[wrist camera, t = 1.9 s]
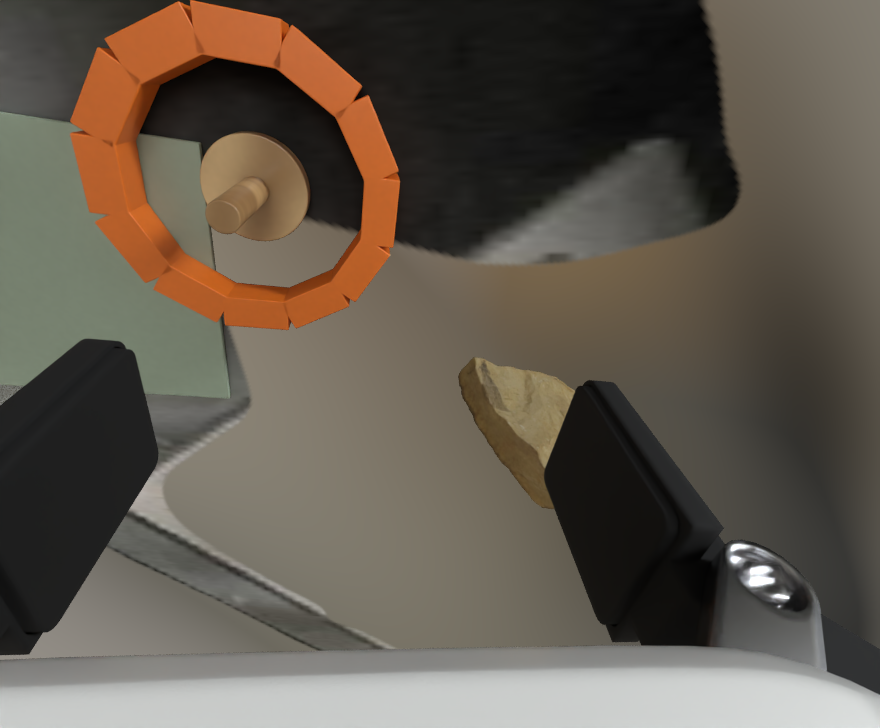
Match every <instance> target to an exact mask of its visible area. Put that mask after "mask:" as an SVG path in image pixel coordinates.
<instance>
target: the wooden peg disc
mask: <svg viewBox="0 0 880 728" xmlns="http://www.w3.org/2000/svg"><path fill="white" fill-rule="evenodd" d="M200 184H201V189H202V193H203V196H204V198H205V201H206V203H207V207H206V209H205V216H206V220H207V222H208V223H209V225H210V226H211V227H212V228H213V229H215V230H216V231H218V232H220V233H223V234H232V233H234V232H235V233H236V234H238V235H240V236H243V237H245V238H248V239H252V240H257V241H272V240H277V239H280V238H283V237H285V236H287V235H289V234H290V233H291V232H293V231H294V230H295V229H296V228H297V227H298V226H299V225H300V223H301V222H302V220H303V219H304V217H305V215H306V213H307V210H308V208H309V203H310V186H309V181H308V178H307V174H306V172H305V170H304V168H303V166H302V164H301V163H300V161H299V160H298V158H297V157H296V156H295V154H294V153H293V152H292V151H291V150H290V149H289V148H288V147H287V146H285V145H284V144H283V143H281V142H280V141H278V140H277V139H275V138H273V137H271V136H269V135H266V134H263V133H259V132H253V131H241V132H236V133H232V134H230V135H227V136H224V137H222V138H220V139H219V140H217V141H216V142H215V143H214V144H212V145H211V147H210V148H209V149H208V150H207V152H206V154H205V155H204V158H203V160H202V164H201V168H200Z"/></svg>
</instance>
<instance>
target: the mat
mask: <svg viewBox="0 0 880 728" xmlns="http://www.w3.org/2000/svg"><path fill="white" fill-rule="evenodd" d="M78 131H83V130H82V129H80V128H78V127H77V126H75V125H74V124H72V123H71V122H65V121H59V120H52V119H46V118H39V117H33V116H26V115H20V114H13V113H7V112H0V385H13V386H25V385H26V384H28V383H29V382H30V381H31V380H32V379H34V378H35V377H36V376H37V375H39V374H40V373H41V372H42V371H44V370H45V369H46V368H47V367H48V366H50V365H51V364H52V363H53V362H55V361H56V360H57V359H58V358H60V357H61V356H62V355H63V354H64V353H66V352H67V351H68V350H69V349H71V348H72V347H73V346H74V345H76V344H77V343H78V342H79V341H81V340H83V339H101V340H113V341H120V342H122V343H123V344H124V345H125V347H126V349H130V350H132V351H133V352H134V353H135V356H136V360H137V364H138V368H139V372H140V376H141V381H142V385H143V389H144V393H146V394H162V395H179V396H195V397H212V398H228V399H229V398H230V396H231V395H230V386H229V378H228V369H227V361H226V352H225V344H224V335H223V326H222V318H221V317H220V319H219V321H218V322H214V321H212V320H211V319H209V318H207V317H205V316H203V315H201V314H199V313H197V312H195V311H193V310H191V309H189V308H188V307H186V306H184V305H182V304H180V303H178V302H176V301H174V300H172V299H170V298H168V297H167V296H165V295H163V294H161V293H159V292H157V291H155V290H154V289H153V288H154V286H155V284H156V282H157V280H158V279H159V278H157V279H154V280H152V281H150V282H148V283H145V282H144V281H143V280H142V279H141V277H140V276H139V275H138V274H137V273H136V271H135V270H134V269H133V268H132V267H131V265H130V264H129V263H128V262H127V261H126V259H125V258H124V257H123V256H122V255H121V254H120V252H119V251H118V250H117V249H116V248H115V246H114V245H113V244H112V243H111V242H110V240H109V239H108V238H107V237H106V236H105V234H104V233H103V232H102V231H101V230H100V228H99V227H98V226H97V225H96V224H95V221H97V220H99V219H101V218H103V217H105V216H107V215H105V214H96V213H90V212H89V209H88V205H87V201H86V197H85V193H84V189H83V185H82V181H81V177H80V173H79V169H78V165H77V161H76V157H75V153H74V149H73V145H72V141H71V137H70V133H72V132H78ZM136 143H137V149H138V154H139V160H140V165H141V171H142V176H143V182H144V187H145V193H146V198H147V203H148V204H149V205H150V207H151V208H152V209H153V211H154V212H155V214H156V215H157V216H158V218H159V219H160V220H161V222H162V223H163V224H164V226H165V227H166V228H167V230H168V231H169V232H170V234H171V235H172V236H173V238H174V239H175V240H176V242H177V243H178V244H179V246H180V247H181V248H182V250H183V251H184V252H185V254H187V255H189V256H190V257H192V258H194V259H196V260H197V261H199V262H201V263H203V264H204V265H206V266H208V267H210V268H211V269H213V270H215V271H216V266H215V258H214V250H213V241H212V233H211V226H210V225H209V223H208V222H207V220H206V216H205V209H206V207H207V203H206V201H205V198H204V196H203V193H202V189H201V184H200V168H201V164H202V160H203V155H202V147H201V142H195V141H189V140H182V139H176V138H169V137H163V136H156V135H150V134H143V133H139V135H138V137H137V139H136Z"/></svg>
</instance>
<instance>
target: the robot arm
mask: <svg viewBox="0 0 880 728" xmlns="http://www.w3.org/2000/svg"><path fill="white" fill-rule="evenodd" d="M157 461H158V447H157V443H156V439H155V435H154V431H153V426H152V422H151V418H150V414H149V410H148V406H147V401H146V397H145V393H144V389H143V385H142V381H141V376H140V372H139V368H138V364H137V360H136V356H135V353H134V352H133V351H132V350H130V349H126V347H125V345H124V344H123V343H122V342H120V341H113V340H101V339H83V340H81V341H79V342H78V343H77V344H76V345H74V346H73V347H72V348H71V349H69V350H68V351H67V352H66V353H64V354H63V355H62V356H61V357H60V358H58V359H57V360H56V361H55V362H53V363H52V364H51V365H50V366H48V367H47V368H46V369H45V370H44V371H42V372H41V373H40V374H39V375H37V376H36V377H35V378H34V379H32V380H31V381H30V382H29V383H28V384H26V385H25V386H24V387H23V388H21V389H20V390H19V391H18V392H16V393H15V394H14V395H13V396H12V397H10V398H9V399H8V400H7V401H5V402H4V403H3V404H2V405H0V655H24V654H29V653H30V652H31V650H32V649H33V647H34V646H35V644H36V642H37V641H38V639H39V638H40V636H41V635H42V633H43V632H49V631H50V630H52V629H53V628H54V627H55V626H56V625H57V624H58V622H59V621H60V619H61V618H62V616H63V615H64V613H65V611H66V610H67V608H68V607H69V605H70V603H71V602H72V600H73V599H74V597H75V595H76V594H77V592H78V591H79V589H80V587H81V586H82V584H83V583H84V581H85V579H86V578H87V576H88V575H89V573H90V571H91V570H92V568H93V566H94V565H95V563H96V562H97V560H98V559H99V557H100V555H101V554H102V552H103V550H104V549H105V547H106V546H107V544H108V543H109V541H110V539H111V538H112V536H113V534H114V533H115V531H116V530H117V528H118V526H119V525H120V523H121V522H122V520H123V518H124V517H125V515H126V514H127V512H128V510H129V509H130V507H131V506H132V504H133V502H134V501H135V499H136V498H137V496H138V494H139V493H140V491H141V490H142V488H143V486H144V485H145V483H146V482H147V480H148V478H149V477H150V475H151V473H152V472H153V470H154V469H155V467H156V464H157ZM544 482H545V485H546V488H547V491H548V493H549V496H550V498H551V501H552V503H553V506H554V509H555V511H556V514H557V516H558V519H559V522H560V524H561V527H562V529H563V532H564V535H565V537H566V540H567V542H568V545H569V547H570V550H571V553H572V555H573V558H574V560H575V563H576V565H577V568H578V571H579V573H580V576H581V579H582V581H583V584H584V586H585V589H586V592H587V594H588V597H589V599H590V602H591V604H592V607H593V610H594V612H595V614H596V617H597V619H598V620H599V621H600V623H601V624H604V625H606V627H607V630H608V632H609V635H610V637H611V640H612V642H638V641H640V643H641V645H642V646H607V645H606V646H605V645H604V646H542V647H480V648H432V649H431V648H430V649H429V648H428V649H380V650H334V651H291V652H246V653H211V654H174V655H173V654H172V655H135V656H98V657H65V658H64V657H60V658H38V659H16V660H0V728H880V649H878V648H877V647H875V646H873V645H871V644H870V643H868V642H867V641H865V640H863V639H862V638H860V637H858V636H857V635H855V634H854V633H852V632H850V631H849V630H847V629H845V628H843V627H842V626H840V625H839V624H837V623H835V622H833V621H832V620H830V619H829V618H827V617H825V616H823V615H822V614H821V612H820V605H819V601H818V599H817V595H816V593H815V591H814V590H813V588H812V587H811V585H810V584H809V582H808V580H807V579H806V578H805V577H804V576H803V575H802V574H801V573H800V572H799V571H798V570H797V568H795V567H794V566H793V565H792V564H790V563H789V562H788V561H787V560H785V559H784V558H783V557H782V556H780V555H778V554H777V553H775V552H773V551H772V550H770V549H768V548H766V547H764V546H761V545H759V544H757V543H754V542H750V541H745V540H734V541H733V540H732V541H730V542H728V543H727V544H724V542H723V541H722V540H721V538H720V537H719V534H720V533H721V531H722V530H723V529H724V528H723V526H722V525H721V524H720V522H719V521H718V520H717V518H716V517H715V516H714V514H713V513H712V512H711V510H710V509H709V508H708V506H707V505H706V504H705V502H704V501H703V500H702V498H701V497H700V496H699V494H698V493H697V492H696V490H695V489H694V488H693V487H692V485H691V484H690V482H689V481H688V480H687V479H686V477H685V476H684V475H683V473H682V472H681V471H680V469H679V468H678V467H677V465H676V464H675V463H674V461H673V460H672V459H671V457H670V456H669V455H668V453H667V452H666V451H665V449H664V448H663V447H662V445H661V444H660V443H659V442H658V440H657V439H656V437H655V436H654V435H653V433H652V432H651V431H650V429H649V428H648V427H647V425H646V424H645V423H644V421H643V420H642V419H641V418H640V416H639V415H638V413H637V412H636V411H635V409H634V408H633V407H632V406H631V404H630V403H629V402H628V400H627V399H626V397H625V396H624V395H623V394H622V392H621V391H620V390H619V388H618V387H617V386H616V385H615V384H614V383H612V382H603V381H592V380H589V381H586V382H585V383H584V385H583V386H579V387H578V388H577V389H576V391H575V393H574V395H573V398H572V401H571V403H570V406H569V408H568V411H567V413H566V416H565V419H564V421H563V424H562V426H561V429H560V431H559V434H558V436H557V439H556V442H555V444H554V447H553V449H552V452H551V454H550V457H549V460H548V462H547V465H546V467H545V471H544Z"/></svg>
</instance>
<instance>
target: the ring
mask: <svg viewBox="0 0 880 728" xmlns="http://www.w3.org/2000/svg"><path fill="white" fill-rule="evenodd" d="M190 5H191V7H190V6H188V5H185V4H183V3H181V2H176V3H174V4H172V5H170V6H168V7H166V8H164V9H162V10H160V11H158V12H156V13H154V14H152V15H150V16H148V17H146V18H144V19H142V20H140V21H138V22H136V23H134V24H132V25H130V26H128V27H126V28H124V29H122V30H120V31H118V32H116V33H114V34H112V35H110V36H108V37H107V38H105V41H106V42H107V44H108V45H109V47H110V48H111V49H107V48H100V47H98V48H97V50H96V53H95V56H94V58H93V61H92V64H91V66H90V69H89V72H88V74H87V77H86V80H85V83H84V85H83V88H82V91H81V93H80V96H79V99H78V101H77V104H76V107H75V109H74V112H73V115H72V118H71V120H70V122H71V123H72V124H74V125H75V126H77V127H78V128H80V129H82V130H83V131H78V132H72V133H70V137H71V141H72V145H73V149H74V153H75V157H76V161H77V165H78V169H79V173H80V177H81V181H82V185H83V189H84V193H85V197H86V201H87V205H88V209H89V212H90V213H96V214H105V215H107V216H105V217H103V218H101V219H99V220H97V221H95V224H96V225H97V226H98V227H99V228H100V230H101V231H102V232H103V233H104V234H105V236H106V237H107V238H108V239H109V240H110V242H111V243H112V244H113V245H114V246H115V248H116V249H117V250H118V251H119V252H120V254H121V255H122V256H123V257H124V258H125V259H126V261H127V262H128V263H129V264H130V265H131V267H132V268H133V269H134V270H135V271H136V273H137V274H138V275H139V276H140V277H141V279H142V280H143V281H144V282H145V283H148V282H150V281H152V280H154V279H157V278H159V279H158V280H157V282H156V284H155V286H154V288H153V289H154V290H155V291H157V292H159V293H161V294H163V295H165V296H167V297H168V298H170V299H172V300H174V301H176V302H178V303H180V304H182V305H184V306H186V307H188V308H189V309H191V310H193V311H195V312H197V313H199V314H201V315H203V316H205V317H207V318H209V319H211V320H212V321H214V322H218V321H219V319H220V317H221V316H222V314H223V313H224V321H225V325H228V326H243V327H255V328H270V329H282V330H289V327H290V323H291V322H292V323H293V324H294V326H295V328H299V327H301V326H304V325H306V324H308V323H311V322H313V321H316V320H318V319H320V318H323V317H325V316H327V315H330V314H332V313H335V312H337V311H339V310H342V309H344V308H347V307H348V306H349V302H350V299H351V300H353V301H354V302H356V300H357V299H358V298H359V296H360V295H361V294H362V292H363V291H364V290H365V288H366V287H367V286H368V284H369V283H370V282H371V280H372V279H373V278H374V276H375V275H376V274H377V272H378V271H379V269H380V268H381V267H382V266H383V264H384V263H385V261H386V260H387V259H388V257H389V256H390V251H389V247H390V248H393V245H394V235H395V225H396V216H397V206H398V197H399V187H400V180H399V177H398V174H396V173H397V172H398V168H397V164H396V162H395V159H394V157H393V154H392V152H391V149H390V147H389V145H388V142H387V140H386V137H385V135H384V132H383V130H382V127H381V125H380V122H379V120H378V117H377V115H376V112H375V110H374V107H373V105H372V102H371V100H370V97H369V96H368V95H366V96H364V97H362V98H360V99H358V100H355V98H356V96H357V95H358V93H359V91H360V90H361V88H362V85H361V84H359V83H358V82H357V81H356V80H355V79H354V78H353V77H352V76H350V75H349V74H348V73H347V72H346V71H345V70H344V69H343V68H341V67H340V66H339V65H338V64H337V63H336V62H335V61H333V60H332V59H331V58H330V57H329V56H328V55H327V54H326V53H324V52H323V51H322V50H321V49H320V48H319V47H318V46H317V45H315V44H314V43H313V42H312V41H311V40H310V39H309V38H308V37H306V36H305V35H304V34H303V33H302V32H301V31H300V30H298V29H297V28H296V27H294V26H293V25H291V27H290V28H289V25H288V24H287V23H285V22H284V21H283V20H281V19H280V18H275V17H270V16H265V15H260V14H256V13H251V12H246V11H241V10H236V9H232V8H227V7H222V6H217V5H212V4H207V3H203V2H198V1H193V0H190ZM215 58H221V59H226V60H232V61H237V62H242V63H248V64H253V65H259V66H264V67H269V68H275V69H277V70H278V71H280V72H281V73H282V74H283V75H284V76H286V77H287V78H288V79H289V80H290V81H292V82H293V83H294V84H295V85H297V86H298V87H299V88H300V89H301V90H303V91H304V92H305V93H306V94H307V95H309V96H310V97H311V98H312V99H314V100H315V101H316V102H317V103H318V104H320V105H321V106H322V107H323V108H324V109H326V110H327V111H328V112H329V113H331V114H332V115H333V116H334V117H335V118H336V120H337V122H338V124H339V126H340V128H341V131H342V133H343V135H344V137H345V140H346V142H347V144H348V146H349V148H350V151H351V153H352V155H353V157H354V159H355V162H356V164H357V166H358V168H359V170H360V173H361V175H362V177H363V179H364V191H363V207H362V222H361V230H360V231H359V233H358V234H357V235H356V237H355V238H354V240H353V241H352V243H351V244H350V246H349V247H348V249H347V250H346V251H345V253H344V254H343V256H342V257H341V258H340V260H339V261H338V263H337V264H336V266H335V267H334V268H333V269H332V270H330V271H327V272H325V273H323V274H320V275H318V276H316V277H313V278H311V279H309V280H306V281H304V282H301V283H299V284H297V285H294V286H292V287H290V288H287V287H275V286H265V285H254V284H244V283H236V282H234V281H232V280H231V279H229V278H227V277H225V276H224V275H222V274H220V273H218V272H217V271H215V270H213V269H211V268H210V267H208V266H206V265H204V264H203V263H201V262H199V261H197V260H196V259H194V258H192V257H190V256H189V255H187V254H185V252H184V251H183V250H182V248H181V247H180V246H179V244H178V243H177V242H176V240H175V239H174V238H173V236H172V235H171V234H170V232H169V231H168V230H167V228H166V227H165V226H164V224H163V223H162V222H161V220H160V219H159V218H158V216H157V215H156V214H155V212H154V211H153V209H152V208H151V207H150V205H149V204H148V203H147V198H146V193H145V187H144V182H143V176H142V171H141V165H140V160H139V154H138V149H137V143H136V139H137V137H138V135H139V132H140V130H141V128H142V125H143V123H144V121H145V119H146V116H147V114H148V112H149V109H150V107H151V105H152V103H153V100H154V98H155V96H156V93H157V91H158V89H159V87H160V85H161V84H163V83H165V82H167V81H169V80H171V79H173V78H175V77H178V76H180V75H182V74H184V73H186V72H188V71H190V70H192V69H194V68H196V67H198V66H200V65H202V64H204V63H206V62H208V61H210V60H213V59H215ZM354 100H355V101H354Z"/></svg>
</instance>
